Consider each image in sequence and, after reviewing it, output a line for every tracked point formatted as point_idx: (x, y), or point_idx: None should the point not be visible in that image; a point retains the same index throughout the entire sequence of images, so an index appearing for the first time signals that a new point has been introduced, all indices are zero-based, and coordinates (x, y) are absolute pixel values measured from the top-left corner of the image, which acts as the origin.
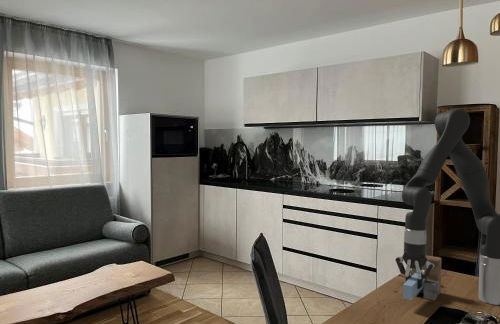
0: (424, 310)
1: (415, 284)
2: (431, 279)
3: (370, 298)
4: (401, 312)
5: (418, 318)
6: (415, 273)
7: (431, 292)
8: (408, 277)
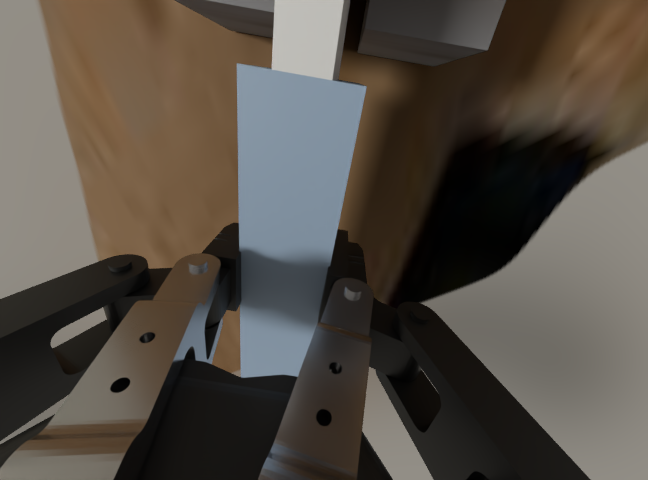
0: (370, 241)
1: None
2: None
3: (111, 221)
4: None
5: None
6: (250, 99)
7: (425, 55)
8: (230, 306)
